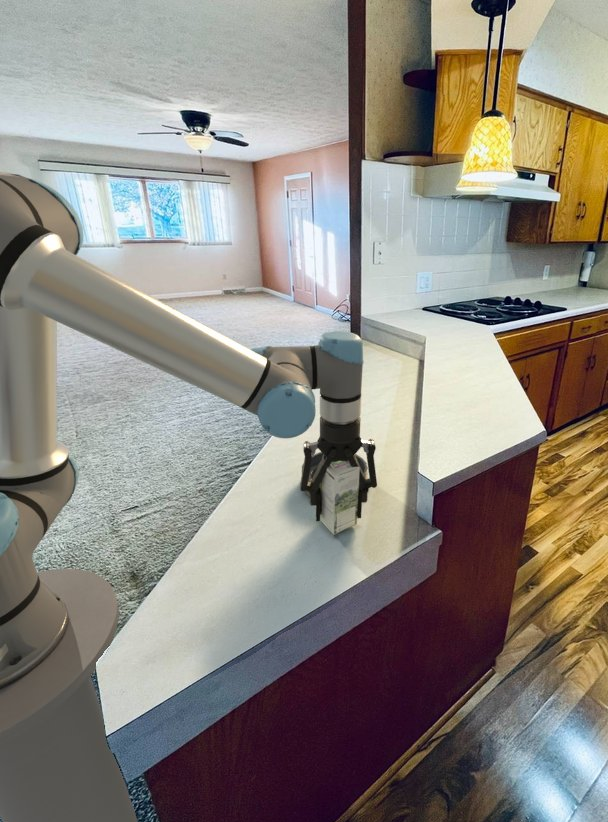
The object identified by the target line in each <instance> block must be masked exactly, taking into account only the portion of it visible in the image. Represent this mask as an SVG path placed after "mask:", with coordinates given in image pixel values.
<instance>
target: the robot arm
mask: <svg viewBox="0 0 608 822" xmlns="http://www.w3.org/2000/svg"><path fill="white" fill-rule="evenodd" d="M83 242H84V228H83V224H82V222H81V219H80V217H79V214H78V213H77V211H76V210H75V208H74V207H73V205H72V204H71V203H70V202H69V201H68V200H67V199H66V197H64V196H63V195H62V194H61V193H60V192H58V191H57V190H55V189H54V188H53V187H51V186H49V185H47V184H45V183H43V182H42V181H39V180H36V179H33V178H30V177H25V176H23V175H21V174H18V173H11V172H6V171H0V689H2V688H4V687H6V686H8V685H10V684H12V683H14V682H16V681H17V680H19V679H20V678H22V677H24V676H25V675H27V674H28V673H29V672H31V671H32V670H33V669H35V668H36V667H37V666H38V665H40V664H41V663H42V662H43V661H44V660H45V659H46V658H47V657H48V656H49V655H50V654H51V653H52V652H53V651H54V649H55V648H56V647H57V646H58V644H59V643H60V641H61V640H62V638H63V637H64V635H65V633H66V630H67V627H68V623H69V615H68V611H67V608H66V605H65V603H64V601H63V600H62V599H61V598H60V597H59V596H58V595H57V594H55V593H53V592H51V590H50V589H49V588H48V587H47V586H46V585H45V584H43V583H42V582H41V581H40V579H39V576H38V573H37V572H38V570H37V567H36V563H35V561H34V558H33V556H34V552H35V550H36V549H37V547H38V546H39V544H40V543H41V541H42V540H43V538H44V537H45V535H46V533H47V532H48V531H49V529H50V528H51V527H52V525H53V523H54V522H55V521H56V519H57V518H58V516H59V514H60V513H61V512H62V510H63V509H64V507H65V506H66V505H67V504H68V503H69V502H70V500H71V499H72V496H73V495H74V493H75V491H76V487H77V485H78V483H79V475H80V474H79V468H78V465H77V462H76V461H75V459H74V457H72V456H71V457H70V455H69V454H70V453H69V448H68V446H67V445H66V444H65V443H63V442H62V441H60V440H58V323H59V324H62V325H63V326H66V327H68V328H69V329H72V330H74V331H76V332H79V333H80V334H82V335H85V336H87V337H89V338H91V339H92V340H93V339H94V340H96V341H98V342H99V343H102V344H103V345H104V344H105V345H106V346H108V347H111V348H112V349H115V350H117V351H119V352H121V353H124V354H126V355H128V356H130V357H132V358H134V359H136V360H138V361H141V362H143V363H144V364H146V365H148V366H151V367H153V368H155V369H157V370H159V371H162V372H164V373H166V374H168V375H171V376H172V377H175V378H177V379H179V380H181V381H184V382H185V383H188V384H189V385H192V386H193V387H196V388H198V389H200V390H202V391H204V392H207V393H209V394H211V395H213V396H216V397H217V398H219V399H221V400H224V401H226V402H228V403H231V404H232V405H235V406H237V407H239V408H241V409H242V410H245V411H247V412H249V413H251V414H253V415H254V416H257V418H258V421H259V423H260V425H261V427H262V428H263V429H264V431H266V432H267V433H268V434H269V435H270V436H273V437H275V438H278V439H293V438H296V437H299V436H301V435H303V434H304V433H305V432H307V431H308V430H309V429H310V428H311V426H313V423H314V420H315V418H316V413H317V412H316V410H317V409H316V397H315V394H314V392H313V390H319V415H320V417H319V437H318V439H317V441H314V442H313V441H312V442H310V441H308V440H305V441H303V454H304V458H303V464H304V465H303V464H302V465H303V471H302V470H301V477H300V491H301V492H302V493H304V492H305V491H308V492H309V493H310V497H309V505H310V506H311V507H315V520H316V522H321V520H320V486H319V485H320V483H321V481H322V479H323V477H324V475H325V473H326V471H327V467H329V466H330V464H331V462H337V461H344V462H345V461H349V463H350V465H351V466H352V467H359V468H360V472H359V491H358V509H357V519H362V506H363V504H365V503H367V502H368V493H369V489H370V488H373V489H374V488H377V486H378V480H377V473H376V463H375V453H376V450H377V446H376V443H375V439H373V438H369V439H368V440H365V439H362V438H361V420H362V419H361V414H362V384H363V383H362V382H363V367H364V349H363V346H364V345H363V339H362V338H361V337H360V336H359V335H358V334H356V333H353V332H350V331H343V330H333V331H326V332H324V333H322V334H321V335H320V337H319V342H318V344H317V345H300V346H299V345H297V346H291V345H290V346H272V345H267V346H260V347H251V348H248V347H246V346H245V345H243V344H240V343H239V342H238V341H235V340H233V339H232V338H229V336H227V335H224V334H223V333H220V332H218V331H217V330H215V329H213V328H211V327H210V326H207V325H205V324H204V323H202V322H200V321H199V320H196V319H194V318H192V317H191V316H189V315H187V314H185V313H183V312H181V311H180V310H178V309H175V308H174V307H172V306H171V305H168V304H167V303H165V302H163V301H161V300H159V299H158V298H156V297H153V296H152V295H151V294H149V293H147V292H145V291H143V290H140V289H139V288H137V287H135V286H133V285H132V284H129V283H128V282H127V281H125V280H122V279H120V278H118V277H117V276H115V275H113V274H111V273H110V272H108V271H106V270H104V269H102V268H101V267H98V266H96V265H94V264H93V263H91V262H89V261H87V260H85V259H84V258H81V257H80V256H78V254H79V252H80V251H81V249H82V246H83ZM361 448H363V452H364V453H365V454H366V463H367V467H368V478H367V479H366V478H365V476H364V474H363V472H362V469H361V467H360V465H359V463H358V461H357V458H356V456H355V454H357V453H358V451H359V450H360V449H361ZM316 450H319V451H320V452H322V453H323V457H322V460H321V463H320V464H319V466H318V468H317V470H316V472H315V474H314V476H313V479H312V481H310V482H308V480H309V474H310V468H311V462H312V455H314V454H316Z"/></svg>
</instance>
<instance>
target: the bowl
mask: <svg viewBox="0 0 608 822" xmlns="http://www.w3.org/2000/svg"><path fill="white" fill-rule="evenodd" d="M355 456H356V458H357V461H358V463H359V465H360V467H361V469H362V472H363V474H364V476H365V478H366V479H369V470H368V463H367V461H365V459H364V458H363V457H361V456H360V455H358V454H357V453H356V454H355ZM322 457H323V453H322V452H321V451H320V452H317V453H315V454H314V455H312V462H311V468H310V474H309V480H308V482H310V481H312V479H313V476H314V474H315V472H316V470H317V468H318V466H319V464H320V462H321V460H322ZM303 465H304V463H303V464H302V465H301V472H302V471H303ZM319 486H320V485H319ZM303 493H304V495H306V496H307V497H308V498H310V493H309V492H308V491H305V492H303Z"/></svg>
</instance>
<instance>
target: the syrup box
mask: <svg viewBox="0 0 608 822" xmlns="http://www.w3.org/2000/svg"><path fill="white" fill-rule="evenodd" d="M320 463H321V462H320ZM359 472H360V468H359V467H352V466H351V465H350V463H349V461H345V462H344V461H337V462H331V464H330V466H329V467H327V471H326V473H325V475H324V477H323V479H322V481H321V483H320V522H321V523H322V524H323V525H324V526H325V527H326V529H328V531H330V533H331V534H332V535H333V536H335V535H337V534H340V533H341V532H343V531H346V530H348V529H350V528H352V527H354V526H356V525H358V524H357V523H358V518H357V509H358V491H359Z"/></svg>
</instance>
